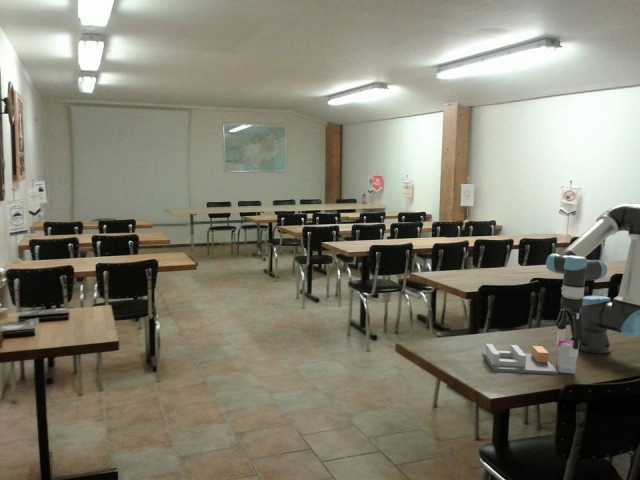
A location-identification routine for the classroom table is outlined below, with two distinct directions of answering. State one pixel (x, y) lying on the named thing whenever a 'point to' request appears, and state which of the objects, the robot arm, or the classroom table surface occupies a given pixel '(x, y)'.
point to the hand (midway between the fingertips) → (566, 351)
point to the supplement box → (565, 359)
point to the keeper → (540, 354)
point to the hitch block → (515, 361)
